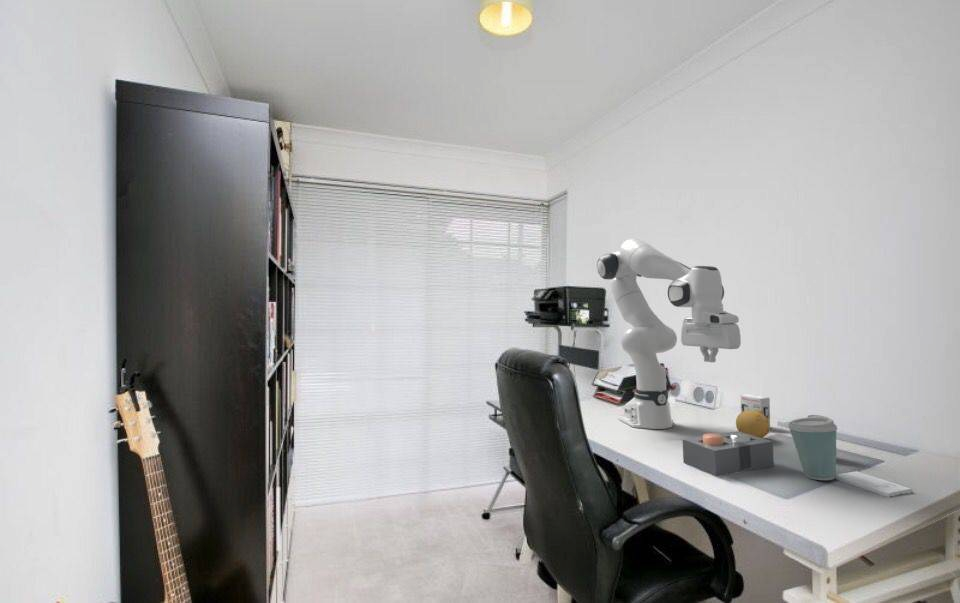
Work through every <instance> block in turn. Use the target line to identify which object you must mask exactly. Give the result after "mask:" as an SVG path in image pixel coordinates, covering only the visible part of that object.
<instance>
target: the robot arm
mask: <svg viewBox="0 0 960 603" xmlns="http://www.w3.org/2000/svg"><path fill="white" fill-rule="evenodd" d="M596 269H597V273H598V274H599V276H600V277H601V278H602V279H603V280H610V289H611V292H612V295H613V296H612V297H613V299H614V301H615V303H616V306H617V307H618V310H619V312H620V315H621V316H622V319H623V320H624V321H625V322H626V323H628V324H629V325H631V326H632V328H629V329H627V330H624V332H623V333H622V335H621V339H620V345H621V347H622V349H623V351H625V353H627V354H628V355H629V356H630V359H631V360H632V363H633V366H634V370H635V380H636V387H635V389H634V388H633V389H632V393H634V394H633V395H634V396H633V398H631V399H630V400H629V401H628V402H627V403H625V404H624V408H623V414H622V415H619V416H617V419H618V420H619V421H621V422H623V423H625V424H626V425H628V426H630V427H632V428H637V429H638V428H639V429H650V430H662V429H670V428H672V427H673V424H674V419H672V413H671V407H670V402H669V401H668V399H669V391H668V389H667V371H666V368H665V367H664V366H663V365H662V364H660V362H659V360H658V357H657V354H660V353H666V352H668V351H670V350H672V349H674V348H675V346H676V344H677V342H678V341H677V340H678V336H677V334H676V331H675V330H674V329H673V328H671V327H669V326H667V325H666V324H665V323H664V322H663V321H662V320H661V319H660V318H659V317H658V316H657V315H656V314H655V312H654V311H653V310H652V308H651V307H650V306H649V304H648V302H647V300H646V298H645V296H644V294H643V292H642V290H641V288H640V287H639V284H638V281H637V278H638V277H639V278H641V277H644V278H646V279H659V280H671V281H672V282H670V283H669V286H668V288H667V298H668V300H669V302H670V304H671V305H672V306H674V307H677V308H691V316H690V317H689V316H688V317H686V318H684V319H683V321H682V326H681V330H680V331H681V332H680V334H681V335H680V342H681V345H683V346H684V347H685V346H687V347H699V350H700V352H701V354H702V356H703V361H704V362H705V363H716V359H717V358H716V357H717V355H718V353H719V349H724V350H738V349H740V348H741V342H742V341H741V331H740V330H741V329H740V327H739V324H737V323H739V320H740V319H739V316H737V315H736V314H732V313H730V312H727V311H725V310H724V304H723V303H722V301H723V299H724V296H725V288H724V285H723V281H722V276H721V273H720V270H719V268H718V267H715V266H712V265H711V266H710V265H696V266H693V267H689V266H687V265H685V264H683V263H682V262H680V261H678V260H676V259H673V258H672V257H669V256H667V255H666V254H664V253H663V252H660V251H659V250H658V249H656V248H654V247H653V246H652V245H650V244H648V243H646V242H645V241H642V240H640V239H636V238H629V239H627V240H625V241H624V242H623V243H622V244H621V246H620V249H619V250H617V251H613V252H610V253H605V254H604V255H601V256H599V258H598V259H597V262H596ZM709 352H710V353H709Z"/></svg>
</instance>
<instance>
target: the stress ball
mask: <svg viewBox="0 0 960 603" xmlns="http://www.w3.org/2000/svg"><path fill="white" fill-rule="evenodd" d="M735 427H736V428H737V431H738V432H742V433H745V434H749V435H752V436H756V437H759V438H763V439H764V438H765V437H766V436H768V434H769V432H770V429H769V422H768V419H767V418H766V417H765V416H764V415H763V414H762V413H761V412H759V411H755V410H746V411H743V412H742V413H741V412H740V413H739V414H738V415H737V417H736V420H735Z"/></svg>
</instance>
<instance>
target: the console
mask: <svg viewBox="0 0 960 603" xmlns="http://www.w3.org/2000/svg"><path fill="white" fill-rule="evenodd" d="M730 433H742V432H739V431H738V430H735V431H729V432H723V433H717V434H718V435H721V436H723V445H720V446H714V447H713V446H710V445H707V444H704V443H703V435H702V436H695V437H689V438H682V457H683V458H682V460H683V464H685V465H688V466H690V467H692V468H694V469H697V470H699V471H702V472H704V473H707V474H709V475H711V476H713V477H720V476H726V475H731V474H733V475H734V474H737V473H743V472H746V471H753V470H759V469H764V468H770V467H774V466H775V464H774V460H775V459H774V448H773V447H774V442H773V441H772V440H770V439H766V438H764V437H763V438H759V437H756V436H752V435H750V441H745V442H739V441H735V440H732V439H730ZM744 434H745V433H744ZM748 435H749V434H748Z"/></svg>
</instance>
